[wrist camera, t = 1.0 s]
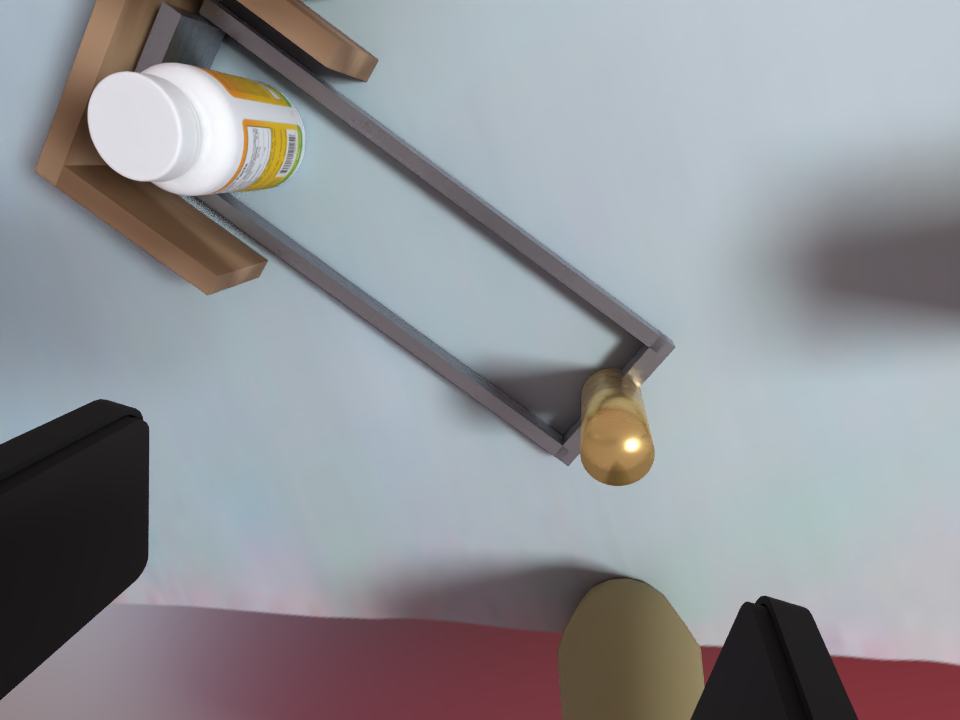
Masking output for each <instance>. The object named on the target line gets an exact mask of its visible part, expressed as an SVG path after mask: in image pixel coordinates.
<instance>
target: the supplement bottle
mask: <svg viewBox="0 0 960 720" xmlns="http://www.w3.org/2000/svg"><path fill="white" fill-rule="evenodd" d="M88 126H89V131H90V135H91V138H92V141H93V143H94V146H95V147H96V149H97V151H98V153H99V154H100V156H101V157H102V158H103V160H104V161H105V162H106V163H107V164H108V165H109V166H110V167H111V168H112V169H113V170H115V171H116V172H117V173H119V174H121V175H122V176H124V177H127V178H129V179H132V180H136V181H148V182H152V183H153V184H155V185H156V186H158V187H160V188H162V189H164V190H166V191H168V192H171V193H174V194H178V195H185V196H198V195H211V194H219V193H229V192H240V191H251V190H261V189H268V188H273V187H277V186H279V185H281V184H283V183H285V182H286V181H288V180H289V179H290V178H291V177H292V176H293V175H294V174H295V173H296V171H297V170H298V168H299V166H300V164H301V162H302V160H303V157H304V152H305V143H306V141H305V130H304V126H303V123H302V120H301V117H300V115H299V113H298V111H297V110H296V108H295V106H294V105H293V104H292V102H291V101H290V100H289V99H288V98H287V97H286V96H285V95H284V94H283V93H282V92H280V91H279V90H277V89H276V88H274V87H272V86H270V85H268V84H265V83H262V82H259V81H255V80H251V79H246V78H242V77H238V76H233V75H229V74H225V73H221V72H217V71H212V70H208V69H204V68H200V67H197V66H192V65H187V64H181V63H161V64H157V65H154V66H151V67H149V68H147V69H145V70H144V71H142V72H141V73H137V72H130V71H124V72H117V73H113V74H111V75H109V76H107V77H105V78H104V79H103V80H102V81H100V82H99V83H98V85H97V86H96V87H95V89H94V91H93V93H92V95H91V97H90V101H89V105H88Z"/></svg>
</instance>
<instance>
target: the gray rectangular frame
mask: <svg viewBox="0 0 960 720" xmlns="http://www.w3.org/2000/svg"><path fill="white" fill-rule="evenodd" d="M199 13H200V14H201V15H203V16H204V17H203V16H200V15H198V14H195V13H193V12H190V11H187V10H185V9H182V8H179V7H177V6H174V5H171V4H169V3H166V2H162V4H161V7H160V9H159V12H158V14H157V17H156V19H155V22H154V24H153V27H152V29H151V32H150V34H149V37H148V39H147V42H146V44H145V47H144V49H143V52H142V54H141V57H140V59H139V62H138V64H137V67H136V69H135V72H137V73H141V72H142V71H144V70H145V69H147V68H149V67H151V66H154V65H157V64H161V63H181V64H187V65H192V66H197V67H200V68H204V69H208V70H209V69H210V67H211V65H212V62H213V60H214V58H215V56H216V53H217V51H218V49H219V47H220V44H221V42H222V40H223V38H224V36H225V33H227V34H228V35H230V36H231V37H232V38H234V39H235V40H236V41H238V42H239V43H240V44H242V45H243V46H244V47H246V48H247V49H248V50H250V51H251V52H252V53H254V54H255V55H256V56H258V57H259V58H260V59H262V60H263V61H265V62H266V63H267V64H269V65H270V66H271V67H273V68H274V69H275V70H277V71H278V72H279V73H281V74H282V75H283V76H285V77H286V78H287V79H289V80H290V81H291V82H293V83H294V84H295V85H297V86H298V87H299V88H301V89H302V90H304V91H305V92H306V93H308V94H309V95H310V96H312V97H313V98H314V99H316V100H317V101H318V102H320V103H321V104H322V105H324V106H325V107H326V108H328V109H329V110H330V111H332V112H333V113H334V114H336V115H337V116H338V117H340V118H341V119H343V120H344V121H345V122H347V123H348V124H349V125H351V126H352V127H353V128H355V129H356V130H357V131H359V132H360V133H361V134H363V135H364V136H365V137H367V138H368V139H369V140H371V141H372V142H373V143H375V144H376V145H378V146H379V147H380V148H382V149H383V150H384V151H386V152H387V153H388V154H390V155H391V156H392V157H394V158H395V159H396V160H398V161H399V162H400V163H402V164H403V165H404V166H406V167H407V168H408V169H410V170H411V171H412V172H414V173H415V174H417V175H418V176H419V177H421V178H422V179H423V180H425V181H426V182H427V183H429V184H430V185H431V186H433V187H434V188H435V189H437V190H438V191H439V192H441V193H442V194H443V195H445V196H446V197H447V198H449V199H450V200H451V201H453V202H454V203H456V204H457V205H458V206H460V207H461V208H462V209H464V210H465V211H466V212H468V213H469V214H470V215H472V216H473V217H474V218H476V219H477V220H478V221H480V222H481V223H482V224H484V225H485V226H486V227H488V228H489V229H490V230H492V231H493V232H495V233H496V234H497V235H499V236H500V237H501V238H503V239H504V240H505V241H507V242H508V243H509V244H511V245H512V246H513V247H515V248H516V249H517V250H519V251H520V252H521V253H523V254H524V255H525V256H527V257H528V258H529V259H531V260H532V261H534V262H535V263H536V264H538V265H539V266H540V267H542V268H543V269H544V270H546V271H547V272H548V273H550V274H551V275H552V276H554V277H555V278H556V279H558V280H559V281H560V282H562V283H563V284H564V285H566V286H567V287H568V288H570V289H571V290H573V291H574V292H575V293H577V294H578V295H579V296H581V297H582V298H583V299H585V300H586V301H587V302H589V303H590V304H591V305H593V306H594V307H595V308H597V309H598V310H599V311H601V312H602V313H603V314H605V315H606V316H607V317H609V318H610V319H612V320H613V321H614V322H616V323H617V324H618V325H620V326H621V327H622V328H624V329H625V330H626V331H628V332H629V333H630V334H632V335H633V336H634V337H636V338H637V339H638V340H640V341H641V342H642V343H644V345H643V346H642V347H641V348H640V350H639V351H638V352H637V353H636V354H635V355H634V356H633V358H632V359H631V360H630V361H629V362H628V363H627V364H626V366H625V367H624V368H623V369H622V370H620V369H613V368H609V369H603V370H600V371H597V372H596V373H594V374H592V375H591V376H590V377H589V378H588V379H587V380H586V382H585V384H584V386H583V388H582V395H581V417H580V418H579V419H578V420H577V422H576V423H575V424H574V425H573V426H572V427H571V428H570V430H569V431H568V432H567V433H566V434H565V435H564V436H562V435H561V434H559V433H558V432H557V431H555V430H554V429H553V428H551V427H550V426H548V425H547V424H546V423H544V422H543V421H542V420H540V419H539V418H537V417H536V416H535V415H533V414H532V413H531V412H529V411H528V410H526V409H525V408H524V407H522V406H521V405H520V404H518V403H517V402H515V401H514V400H513V399H511V398H510V397H509V396H507V395H506V394H504V393H503V392H502V391H500V390H499V389H497V388H496V387H495V386H493V385H492V384H491V383H489V382H488V381H486V380H485V379H484V378H482V377H481V376H480V375H478V374H477V373H475V372H474V371H473V370H471V369H470V368H469V367H467V366H466V365H464V364H463V363H462V362H460V361H459V360H458V359H456V358H455V357H453V356H452V355H451V354H449V353H448V352H447V351H445V350H444V349H442V348H441V347H440V346H438V345H437V344H436V343H434V342H433V341H431V340H430V339H429V338H427V337H426V336H425V335H423V334H422V333H420V332H419V331H418V330H416V329H415V328H414V327H412V326H411V325H409V324H408V323H407V322H405V321H404V320H403V319H401V318H400V317H398V316H397V315H396V314H394V313H393V312H392V311H390V310H389V309H387V308H386V307H385V306H383V305H382V304H381V303H379V302H378V301H376V300H375V299H374V298H372V297H371V296H370V295H368V294H367V293H365V292H364V291H363V290H361V289H360V288H359V287H357V286H356V285H354V284H353V283H352V282H350V281H349V280H348V279H346V278H345V277H343V276H342V275H341V274H339V273H338V272H337V271H335V270H334V269H332V268H331V267H330V266H328V265H327V264H326V263H324V262H323V261H321V260H320V259H319V258H317V257H316V256H315V255H313V254H312V253H310V252H309V251H308V250H306V249H305V248H304V247H302V246H301V245H299V244H298V243H297V242H295V241H294V240H293V239H291V238H290V237H288V236H287V235H286V234H284V233H283V232H282V231H280V230H279V229H277V228H276V227H275V226H273V225H272V224H271V223H269V222H268V221H266V220H265V219H264V218H262V217H261V216H260V215H258V214H257V213H255V212H254V211H253V210H251V209H250V208H249V207H247V206H246V205H244V204H243V203H242V202H240V201H239V200H238V199H236V198H235V197H233V196H232V195H231V194H229V193H219V194H211V195H198V196H196V197H197V198H199V199H200V200H201V201H203V202H204V203H205V204H207V205H208V206H210V207H211V208H212V209H214V210H215V211H217V212H218V213H219V214H221V215H222V216H223V217H225V218H226V219H228V220H229V221H230V222H232V223H233V224H234V225H236V226H237V227H239V228H240V229H241V230H243V231H244V232H246V233H247V234H248V235H250V236H251V237H252V238H254V239H255V240H257V241H258V242H259V243H261V244H262V245H263V246H265V247H266V248H268V249H269V250H270V251H272V252H273V253H275V254H276V255H277V256H279V257H280V258H281V259H283V260H284V261H286V262H287V263H288V264H290V265H291V266H292V267H294V268H295V269H297V270H298V271H299V272H301V273H302V274H304V275H305V276H306V277H308V278H309V279H310V280H312V281H313V282H315V283H316V284H317V285H319V286H320V287H321V288H323V289H324V290H326V291H327V292H328V293H330V294H331V295H333V296H334V297H335V298H337V299H338V300H339V301H341V302H342V303H344V304H345V305H346V306H348V307H349V308H350V309H352V310H353V311H355V312H356V313H357V314H359V315H360V316H362V317H363V318H364V319H366V320H367V321H368V322H370V323H371V324H373V325H374V326H375V327H377V328H378V329H379V330H381V331H382V332H384V333H385V334H386V335H388V336H389V337H391V338H392V339H393V340H395V341H396V342H397V343H399V344H400V345H402V346H403V347H404V348H406V349H407V350H408V351H410V352H411V353H413V354H414V355H415V356H417V357H418V358H420V359H421V360H422V361H424V362H425V363H426V364H428V365H429V366H431V367H432V368H433V369H435V370H436V371H437V372H439V373H440V374H442V375H443V376H444V377H446V378H447V379H449V380H450V381H451V382H453V383H454V384H455V385H457V386H458V387H460V388H461V389H462V390H464V391H465V392H466V393H468V394H469V395H471V396H472V397H473V398H475V399H476V400H478V401H479V402H480V403H482V404H483V405H484V406H486V407H487V408H489V409H490V410H491V411H493V412H494V413H495V414H497V415H498V416H500V417H501V418H502V419H504V420H505V421H507V422H508V423H509V424H511V425H512V426H513V427H515V428H516V429H518V430H519V431H520V432H522V433H523V434H524V435H526V436H527V437H529V438H530V439H531V440H533V441H534V442H536V443H537V444H538V445H540V446H541V447H542V448H544V449H545V450H547V451H548V452H549V453H551V454H552V455H553V456H555V457H556V458H558V459H559V460H560V461H562V462H563V463H565V464H566V465H567V466H569V465H570V464H571V463H572V461H573V460H574V459H575V458H576V457H577V456H578V455H579V454H580V455H581V461H582V464H583V466H584V468H585V469H586V471H587V472H588V473H589V474H590V475H591V476H592V477H593V478H594V479H596V480H598V481H599V482H602V483H604V484H607V485H613V486H623V485H628V484H632V483H634V482H636V481H638V480H640V479H641V478H643V477H644V476H645V475H646V474H647V473H648V471H649V470H650V468H651V466H652V464H653V461H654V446H653V442H652V438H651V433H650V429H649V425H648V421H647V416H646V412H645V408H644V404H643V400H642V395H641V391H640V388H639V387H640V386H641V385H642V384H643V383H644V382H645V380H646V379H647V378H648V377H649V376H650V375H651V374H652V373H653V372H654V370H655V369H656V368H657V367H658V366H659V365H660V364H661V363H662V362H663V360H664V359H665V358H666V357H667V356H668V355H669V354H670V353H671V352H672V350H673V349H674V348H675V345H674V343H673V341H672V340H671V339H669V338H668V337H667V336H665V335H664V334H663V333H661V332H660V331H659V330H657V329H656V328H655V327H653V326H652V325H651V324H649V323H648V322H646V321H645V320H644V319H642V318H641V317H640V316H638V315H637V314H636V313H634V312H633V311H632V310H630V309H629V308H628V307H626V306H625V305H624V304H622V303H621V302H620V301H618V300H617V299H616V298H614V297H613V296H612V295H610V294H609V293H608V292H606V291H605V290H604V289H602V288H601V287H600V286H598V285H597V284H596V283H594V282H593V281H592V280H590V279H589V278H588V277H586V276H585V275H584V274H582V273H581V272H579V271H578V270H577V269H575V268H574V267H573V266H571V265H570V264H569V263H567V262H566V261H565V260H563V259H562V258H561V257H559V256H558V255H557V254H555V253H554V252H553V251H551V250H550V249H549V248H547V247H546V246H545V245H543V244H542V243H541V242H539V241H538V240H537V239H535V238H534V237H533V236H531V235H530V234H529V233H527V232H526V231H525V230H523V229H522V228H521V227H519V226H518V225H516V224H515V223H514V222H512V221H511V220H510V219H508V218H507V217H506V216H504V215H503V214H502V213H500V212H499V211H498V210H496V209H495V208H494V207H492V206H491V205H490V204H488V203H487V202H486V201H484V200H483V199H482V198H480V197H479V196H478V195H476V194H475V193H474V192H472V191H471V190H470V189H468V188H467V187H466V186H464V185H463V184H462V183H460V182H459V181H458V180H456V179H455V178H454V177H452V176H451V175H449V174H448V173H447V172H445V171H444V170H443V169H441V168H440V167H439V166H437V165H436V164H435V163H433V162H432V161H431V160H429V159H428V158H427V157H425V156H424V155H423V154H421V153H420V152H419V151H417V150H416V149H415V148H413V147H412V146H411V145H409V144H408V143H407V142H405V141H404V140H403V139H401V138H400V137H399V136H397V135H396V134H395V133H393V132H392V131H391V130H389V129H388V128H387V127H385V126H384V125H382V124H381V123H380V122H378V121H377V120H376V119H374V118H373V117H372V116H370V115H369V114H368V113H366V112H365V111H364V110H362V109H361V108H360V107H358V106H357V105H356V104H354V103H353V102H352V101H350V100H349V99H348V98H346V97H345V96H344V95H342V94H341V93H340V92H338V91H337V90H336V89H334V88H333V87H332V86H330V85H329V84H328V83H326V82H325V81H324V80H322V79H321V78H319V77H318V76H317V75H315V74H314V73H313V72H311V71H310V70H309V69H307V68H306V67H305V66H303V65H302V64H301V63H299V62H298V61H297V60H295V59H294V58H293V57H291V56H290V55H289V54H287V53H286V52H285V51H283V50H282V49H281V48H279V47H278V46H277V45H275V44H274V43H273V42H271V41H270V40H269V39H267V38H266V37H265V36H263V35H262V34H261V33H259V32H258V31H257V30H255V29H254V28H252V27H251V26H250V25H248V24H247V23H246V22H244V21H243V20H242V19H240V18H239V17H238V16H236V15H235V14H234V13H232V12H231V11H230V10H228V9H227V8H226V7H224V6H223V5H222V4H220V3H219V2H216V1H214V0H204V1H203V4H202V6H201V8H200V11H199Z"/></svg>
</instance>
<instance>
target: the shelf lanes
mask: <svg viewBox="0 0 960 720" xmlns="http://www.w3.org/2000/svg"><path fill="white" fill-rule="evenodd" d="M203 1H204V0H96V3H95V6H94V8H93V11H92V14H91V17H90V19H89V22H88V25H87V28H86V30H85V33H84V36H83V39H82V42H81V44H80V47H79V50H78V53H77V55H76V58H75V61H74V64H73V66H72V69H71V72H70V75H69V78H68V80H67V83H66V86H65V89H64V91H63V94H62V97H61V100H60V103H59V105H58V108H57V111H56V114H55V116H54V119H53V122H52V125H51V127H50V130H49V133H48V136H47V139H46V141H45V144H44V147H43V150H42V152H41V155H40V158H39V161H38V163H37V166H36V169H35V172H36V173H37V174H38V175H40V176H41V177H43V178H44V179H45V180H47V181H48V182H50V183H51V184H52V185H54V186H55V187H57V188H58V189H59V190H61V191H62V192H64V193H65V194H66V195H68V196H69V197H71V198H72V199H73V200H75V201H76V202H78V203H79V204H80V205H82V206H83V207H85V208H86V209H87V210H89V211H90V212H92V213H93V214H94V215H96V216H97V217H99V218H100V219H101V220H103V221H104V222H106V223H107V224H108V225H110V226H111V227H113V228H114V229H115V230H117V231H118V232H120V233H121V234H122V235H124V236H125V237H127V238H128V239H129V240H131V241H132V242H134V243H135V244H136V245H138V246H139V247H141V248H142V249H143V250H145V251H146V252H148V253H149V254H150V255H152V256H153V257H155V258H156V259H157V260H159V261H160V262H162V263H163V264H164V265H166V266H167V267H169V268H170V269H171V270H173V271H174V272H176V273H177V274H178V275H180V276H181V277H183V278H184V279H185V280H187V281H188V282H190V283H191V284H192V285H194V286H195V287H197V288H198V289H199V290H201V291H202V292H204V293H205V294H206V295H210V294H213V293H216V292H219V291H221V290H224V289H227V288H230V287H233V286H236V285H238V284H241V283H244V282H247V281H250V280H252V279H255V278H258V277H259V276H260V274H261V272H262V271H263V269H264V267H265V265H266V263H267V262H268V260H267V259H265V258H264V257H263V256H261V255H260V254H258V253H257V252H256V251H254V250H253V249H251V248H250V247H249V246H247V245H246V244H245V243H243V242H242V241H240V240H239V239H238V238H236V237H235V236H233V235H232V234H231V233H229V232H228V231H227V230H225V229H224V228H222V227H221V226H220V225H218V224H217V223H215V222H214V221H213V220H211V219H210V218H209V217H207V216H206V215H204V214H203V213H202V212H200V211H199V210H198V209H196V208H195V207H193V206H192V205H191V204H189V203H188V202H186V201H185V200H184V199H182V198H181V197H180V196H178V195H177V194H174V193H171V192H168V191H166V190H164V189H162V188H160V187H158V186H156V185H155V184H153V183H152V182H148V181H136V180H132V179H129V178H127V177H124V176H122V175H121V174H119V173H117V172H116V171H115V170H113V169H112V168H111V167H110V166H109V165H108V164H107V163H106V162H105V161H104V160H103V158H102V157H101V156H100V154H99V153H98V151H97V149H96V147H95V146H94V143H93V141H92V138H91V135H90V131H89V126H88V105H89V101H90V97H91V95H92V93H93V91H94V89H95V87H96V86H97V85H98V83H99V82H100V81H102V80H103V79H104V78H105V77H107V76H109V75H111V74H113V73H117V72H124V71H130V72H135V69H136V67H137V64H138V62H139V59H140V57H141V54H142V52H143V49H144V47H145V44H146V42H147V39H148V37H149V34H150V32H151V29H152V27H153V24H154V22H155V19H156V17H157V14H158V12H159V9H160V7H161V4H162V2H166V3H169V4H171V5H174V6H177V7H179V8H182V9H185V10H187V11H190V12H193V13H195V14H198V15H200V13H199V11H200V8H201V6H202V4H203ZM237 1H238V2H240V3H241V4H242V5H244V6H245V7H246V8H248V9H249V10H250V11H252V12H253V13H254V14H256V15H257V16H258V17H260V18H261V19H262V20H264V21H265V22H266V23H268V24H269V25H270V26H272V27H273V28H274V29H276V30H277V31H278V32H280V33H281V34H282V35H284V36H285V37H287V38H288V39H289V40H291V41H292V42H293V43H295V44H296V45H297V46H299V47H300V48H301V49H303V50H304V51H305V52H307V53H308V54H309V55H311V56H312V57H313V58H315V59H316V60H317V61H319V62H320V63H321V64H323V65H324V66H325V67H327V68H329V69H332V70H335V71H338V72H341V73H343V74H346V75H349V76H352V77H354V78H357V79H360V80H363V81H366V82H367V80H368V79H369V77H370V75H371V73H372V71H373V69H374V68H375V66H376V64H377V62H378V59H377V58H375V57H374V56H373V55H371V54H370V53H369V52H367V51H366V50H365V49H363V48H362V47H361V46H359V45H358V44H357V43H355V42H354V41H353V40H351V39H350V38H349V37H347V36H346V35H345V34H344V33H342V32H341V31H340V30H338V29H337V28H336V27H334V26H333V25H332V24H330V23H329V22H328V21H326V20H325V19H324V18H322V17H321V16H320V15H318V14H317V13H316V12H314V11H313V10H312V9H310V8H309V7H308V6H306V5H305V4H304V3H302V2H301V1H300V0H237Z"/></svg>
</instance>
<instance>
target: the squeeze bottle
mask: <svg viewBox="0 0 960 720" xmlns="http://www.w3.org/2000/svg"><path fill="white" fill-rule="evenodd" d="M558 664H559V678H560V693H561V707H562V720H690V719H691V717H692V715H693V712H694V710H695V708H696V706H697V703H698V701H699V699H700V697H701V695H702V692H703V690H704V678H703V668H702V659H701V648H700V646H699V645H698V643H697V642H696V640H695V638H694V637H693V635H692V634H691V632H690V631H689V629H688V628H687V626H686V625H685V623H684V622H683V621H682V619H681V618H680V617H679V615H678V614H677V612H676V611H675V610H674V608H673V607H672V606H671V604H670V603H669V602H668V600H667V599H666V597H665V596H664V595H663V594H662V593H661V592H659V591H658V590H656V589H655V588H653V587H652V586H651V585H649V584H647V583H644V582H640V581H637V580H633V579H630V578H629V579H610V580H607V581H605V582H602V583H600V584H598V585H595V586H593V587H592V588H591V589H590V590H589V591H588V592H587V593H586V594H585V595H584V596H583V597H582V599H581V601H580V602H579V604H578V606H577V608H576V610H575V612H574V613H573V615H572V617H571V619H570V621H569V622H568V624H567V626H566V628H565V630H564V633H563V636H562V639H561V642H560V645H559V648H558Z"/></svg>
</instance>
